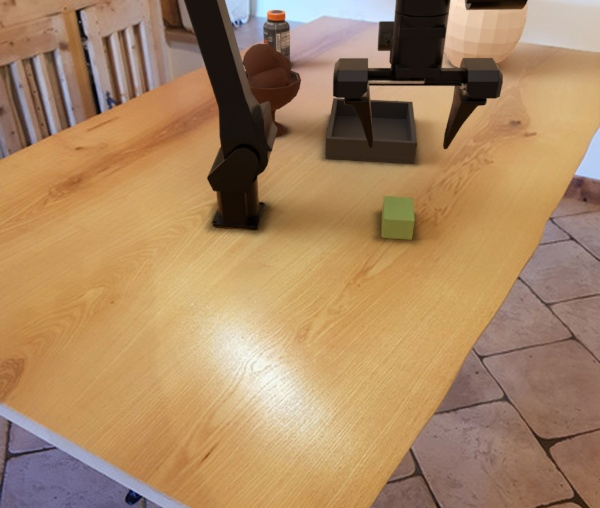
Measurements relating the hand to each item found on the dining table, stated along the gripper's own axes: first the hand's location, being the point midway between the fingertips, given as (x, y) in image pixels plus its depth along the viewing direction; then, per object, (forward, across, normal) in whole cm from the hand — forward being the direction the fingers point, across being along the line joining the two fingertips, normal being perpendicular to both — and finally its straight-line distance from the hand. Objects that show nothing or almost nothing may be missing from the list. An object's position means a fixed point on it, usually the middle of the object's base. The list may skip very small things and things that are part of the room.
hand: (407, 147), depth 69 cm
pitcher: (+12, -20, -70) cm, 74 cm away
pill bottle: (+11, +25, -65) cm, 70 cm away
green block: (+11, 0, +1) cm, 11 cm away
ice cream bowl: (+11, +22, -29) cm, 38 cm away
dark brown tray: (+11, +4, -27) cm, 30 cm away
